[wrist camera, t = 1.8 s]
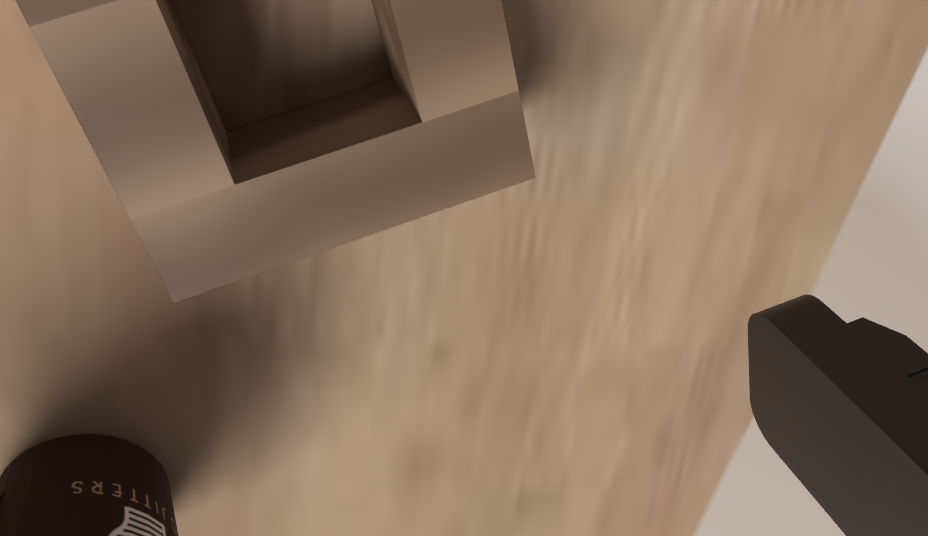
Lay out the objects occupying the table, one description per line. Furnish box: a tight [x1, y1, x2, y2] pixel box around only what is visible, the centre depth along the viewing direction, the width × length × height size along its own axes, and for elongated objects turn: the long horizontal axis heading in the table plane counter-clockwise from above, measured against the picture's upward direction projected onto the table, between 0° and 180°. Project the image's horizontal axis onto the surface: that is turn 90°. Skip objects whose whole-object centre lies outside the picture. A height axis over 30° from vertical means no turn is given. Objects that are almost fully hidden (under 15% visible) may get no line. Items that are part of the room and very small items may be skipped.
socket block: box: [16, 0, 535, 303], centre depth 25 cm, size 12×12×4 cm
